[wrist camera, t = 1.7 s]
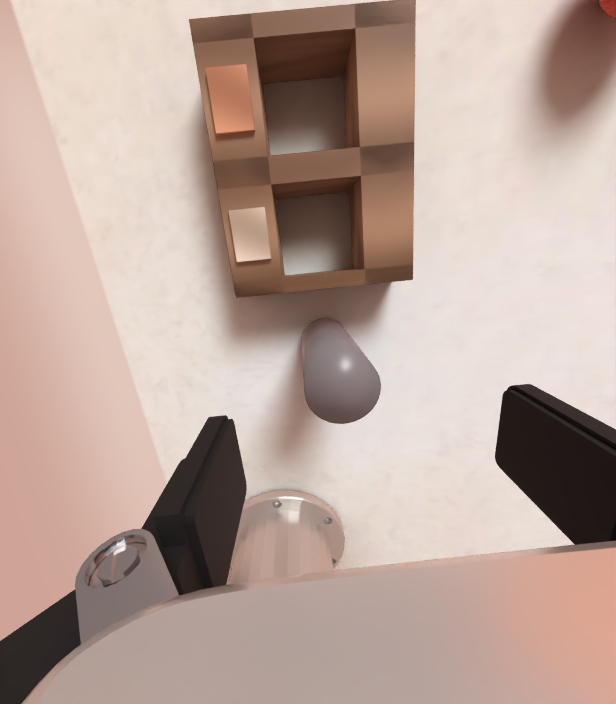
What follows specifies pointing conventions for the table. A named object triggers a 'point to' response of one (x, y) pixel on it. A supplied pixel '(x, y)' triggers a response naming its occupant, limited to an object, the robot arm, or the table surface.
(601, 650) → the robot arm
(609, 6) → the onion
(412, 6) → the socket block
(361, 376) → the plug
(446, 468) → the table surface
